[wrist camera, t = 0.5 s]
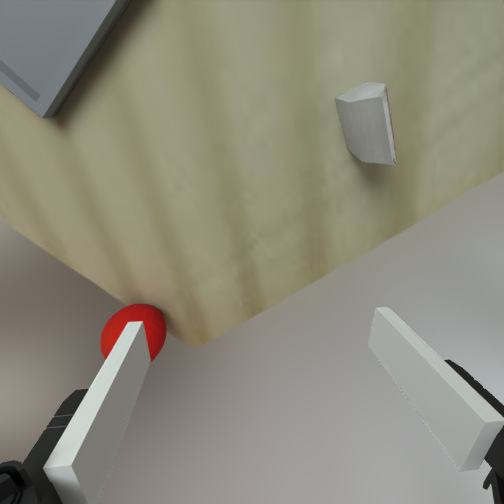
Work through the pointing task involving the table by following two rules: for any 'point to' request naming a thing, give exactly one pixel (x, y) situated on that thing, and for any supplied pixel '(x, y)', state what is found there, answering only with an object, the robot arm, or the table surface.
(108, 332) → the tomato
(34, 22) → the tray
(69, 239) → the table surface
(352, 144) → the white carton
